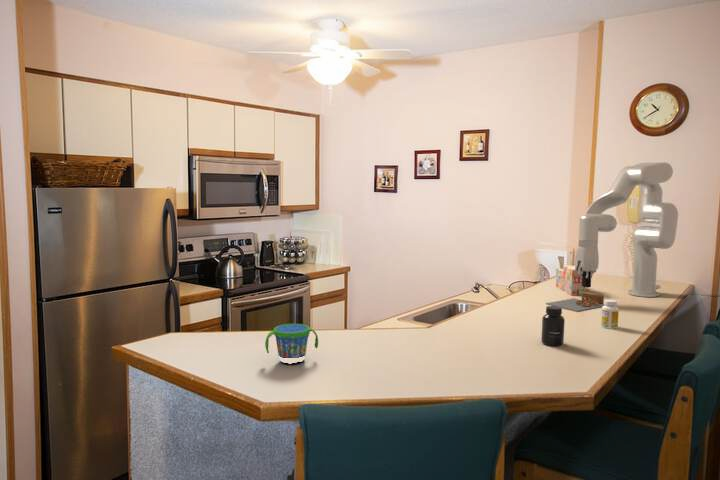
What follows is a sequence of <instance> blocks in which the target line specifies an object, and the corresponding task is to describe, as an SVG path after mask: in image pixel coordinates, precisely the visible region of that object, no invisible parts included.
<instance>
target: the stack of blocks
mask: <svg viewBox="0 0 720 480" xmlns="http://www.w3.org/2000/svg"><path fill="white" fill-rule="evenodd" d="M555 270H556V273H555V274H556V275H555V276H556V277H555V278H556V279H555V283H556V284H555V285H556V287H555V288H558V290H561V291H563V292H565V293H566V294H567V295H569V296H571V297H573V296H574V297H575V296H577V297H579V296H580V297H582V292H586V287H583V286H582V277H581V274H578V273H577V272H578V270H575V264H574V265H562V268H556V269H555Z"/></svg>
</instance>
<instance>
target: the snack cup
mask: <svg viewBox="0 0 720 480" xmlns="http://www.w3.org/2000/svg"><path fill="white" fill-rule="evenodd" d="M310 332H312V333H313V335H315V339H314V348H315V349H318V347H319V337H318V334H317V332H316V331H315V330H314V329H312V327H310V326H308V325H307V324H302V323H287V324H286V323H284V324H280V325H278V326H275V327H274V328H273V330H271V331H270V332H269V333H268V334H267V336H266V339H265V341H264V345H265V349H266V352H267V354H269V353H270V351H269V343H270V342H269V339H270V338H271V337H272V336H273V335H274V337H275V341H276V349H277V354H278V357H279V356H280V357H282V358H299V357H303V356H305V355H307V349H308V348H307V347H308V339H309V336H310ZM305 357H306V356H305Z"/></svg>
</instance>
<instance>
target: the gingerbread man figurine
mask: <svg viewBox="0 0 720 480" xmlns="http://www.w3.org/2000/svg"><path fill="white" fill-rule="evenodd" d="M581 300H582V301H576V304H580V306H582V307H589V305H598V304H602V305H604V301H605V295H602V294H597V293H593V292H588V291H585V292H582V296H581ZM585 301H587V302H585ZM589 302H591V304H590V303H589Z"/></svg>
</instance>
